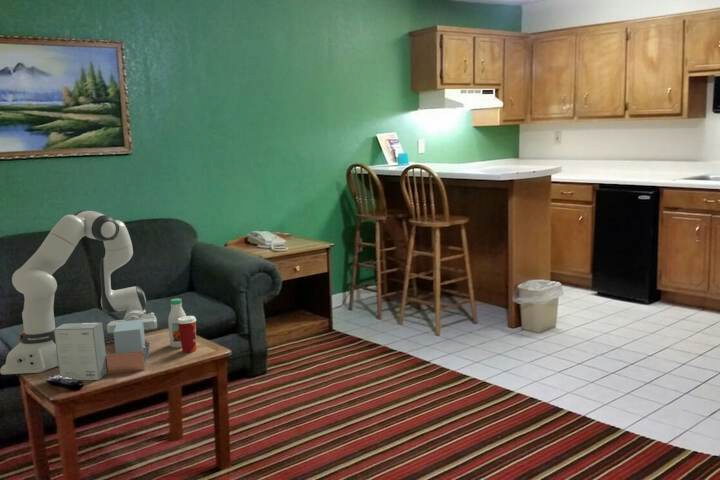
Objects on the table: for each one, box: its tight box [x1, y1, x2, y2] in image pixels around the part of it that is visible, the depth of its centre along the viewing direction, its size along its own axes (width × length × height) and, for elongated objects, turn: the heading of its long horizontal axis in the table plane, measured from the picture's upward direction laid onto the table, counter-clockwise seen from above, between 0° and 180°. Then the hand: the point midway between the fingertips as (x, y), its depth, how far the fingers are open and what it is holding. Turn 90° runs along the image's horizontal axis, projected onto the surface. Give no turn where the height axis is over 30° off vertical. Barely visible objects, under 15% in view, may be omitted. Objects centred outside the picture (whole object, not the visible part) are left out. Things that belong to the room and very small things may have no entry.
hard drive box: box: [54, 322, 108, 381], centre depth 243 cm, size 16×8×20 cm, turn 84°
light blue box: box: [112, 320, 146, 354], centre depth 266 cm, size 10×14×9 cm
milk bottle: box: [167, 297, 187, 348], centre depth 276 cm, size 8×8×20 cm
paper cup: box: [177, 315, 197, 354], centre depth 268 cm, size 8×8×14 cm
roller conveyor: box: [106, 342, 150, 375], centre depth 261 cm, size 13×28×7 cm, turn 14°
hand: (130, 330), depth 272 cm, fingers closed
